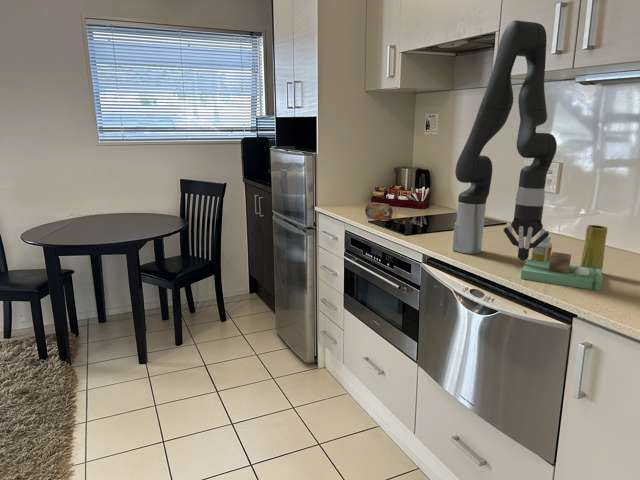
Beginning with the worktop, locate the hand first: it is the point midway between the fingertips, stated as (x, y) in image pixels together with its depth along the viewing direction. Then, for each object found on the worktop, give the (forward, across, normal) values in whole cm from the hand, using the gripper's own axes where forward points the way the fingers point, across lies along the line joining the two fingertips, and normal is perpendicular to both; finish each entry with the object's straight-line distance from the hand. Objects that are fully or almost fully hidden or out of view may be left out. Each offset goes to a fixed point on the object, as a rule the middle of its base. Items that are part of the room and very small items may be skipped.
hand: (522, 260), depth 141 cm
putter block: (+1, -10, 0) cm, 10 cm away
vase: (+4, -18, -10) cm, 21 cm away
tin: (+4, +68, -56) cm, 88 cm away
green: (+4, -11, +1) cm, 11 cm away
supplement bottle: (+4, -4, -12) cm, 13 cm away
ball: (+2, -16, +1) cm, 16 cm away
